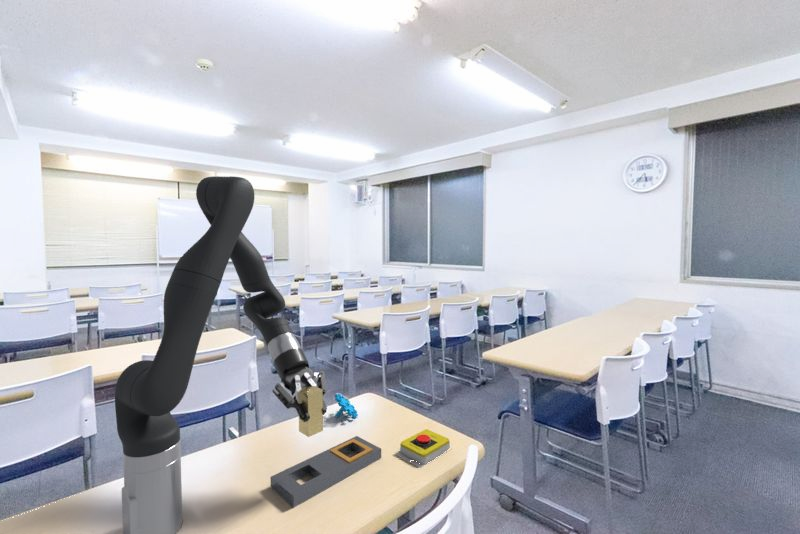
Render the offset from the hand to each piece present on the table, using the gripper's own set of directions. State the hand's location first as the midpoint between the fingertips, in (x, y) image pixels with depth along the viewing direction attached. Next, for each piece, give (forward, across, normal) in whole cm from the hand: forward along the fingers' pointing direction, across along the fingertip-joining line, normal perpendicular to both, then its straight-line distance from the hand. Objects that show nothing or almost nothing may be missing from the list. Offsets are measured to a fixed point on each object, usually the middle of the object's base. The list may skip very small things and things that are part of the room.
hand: (315, 416), depth 86 cm
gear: (-5, +28, +28) cm, 40 cm away
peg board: (+10, +5, +13) cm, 17 cm away
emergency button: (+19, +29, +5) cm, 35 cm away
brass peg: (+2, 0, +4) cm, 5 cm away
